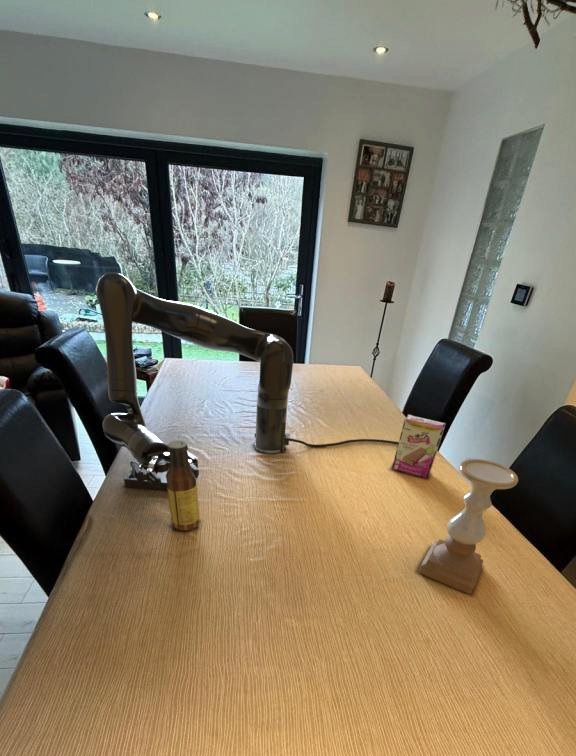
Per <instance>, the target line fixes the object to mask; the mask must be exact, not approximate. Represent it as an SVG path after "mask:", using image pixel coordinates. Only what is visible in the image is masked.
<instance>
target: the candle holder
mask: <svg viewBox="0 0 576 756" xmlns="http://www.w3.org/2000/svg"><path fill="white" fill-rule="evenodd" d="M458 470H459V472H460V474H461V475H462V476H463V477H464V478H465V479H466V480H468V481H470V483H471V489H470V491H468V492H467V493H465V494H464V495H463V497H462V499H463V501H464V508H463V509H462V510H461V511H460V512H458V513H456V514H455V515H453V517H452V516H451V518H450V519H449V520H448V522H447V525H446V532H447V534H448V535H446V537H445V538H444V540H443V539H438V540H437V541H434V542H433V543H432V544H431V546H430V548H429V549H428V551H427V553H426V554H425V557H424V558H423V561H422V563H421V565H420V566H419V567H420V568H419V570H418V571H419V572H418V573H419V574H420V575H424V576H426V577H428V578H430V579H433V580H435V581H436V582H440V583H442V584H444V585H446V586H449V587H452V588H454V589H456V590H459V591H461V592H464V593H466V594H468V595H469V594H470V595H471V594H472V593H473V591H474V589H475V586H476V585H477V581H478V578H479V575H480V573H481V570H482V567H483V564H484V560H483V559H482V555H481V554H480V553H478V552H476V551H477V546H476V545H477V544H479V543H481V542H482V541H483V540H484V539H485V538H486V534H487V532H486V531H487V530H486V525H485V522H484V519H483V513H484V512H485V511H487V510H488V509H490V508H491V507H492V505H493V502H492V500H491V495H492V493H493V492H494V491H497V490H509V489H512V488H514V487H516V486H517V485H518V483H519V476H518V475H517V473H516V472H514V471H513V470H512V469H511V468H509V467H507V466H505V465H503V464H501V463H498V462H495V461H491V460H488V459H481V458H480V459H479V458H470V459H465V460H464V461H463V460H462V462H461V463H460V464H459V469H458Z"/></svg>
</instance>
